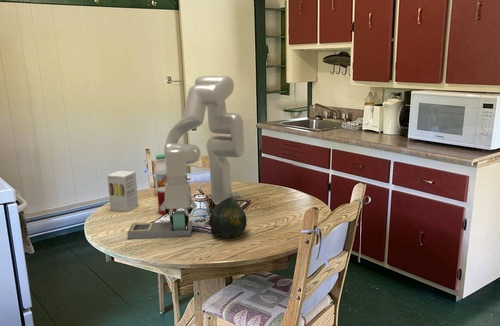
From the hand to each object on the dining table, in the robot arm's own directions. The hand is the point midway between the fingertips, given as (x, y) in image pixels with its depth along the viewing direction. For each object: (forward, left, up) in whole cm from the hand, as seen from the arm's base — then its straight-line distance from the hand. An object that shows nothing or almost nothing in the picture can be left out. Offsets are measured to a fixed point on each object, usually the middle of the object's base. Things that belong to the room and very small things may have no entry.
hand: (179, 223), depth 171 cm
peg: (0, 0, -3) cm, 3 cm away
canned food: (+8, -24, -4) cm, 26 cm away
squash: (-19, +4, -4) cm, 20 cm away
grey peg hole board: (+7, 0, -3) cm, 8 cm away
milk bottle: (+14, -53, -4) cm, 55 cm away
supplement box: (+29, -32, -4) cm, 43 cm away
